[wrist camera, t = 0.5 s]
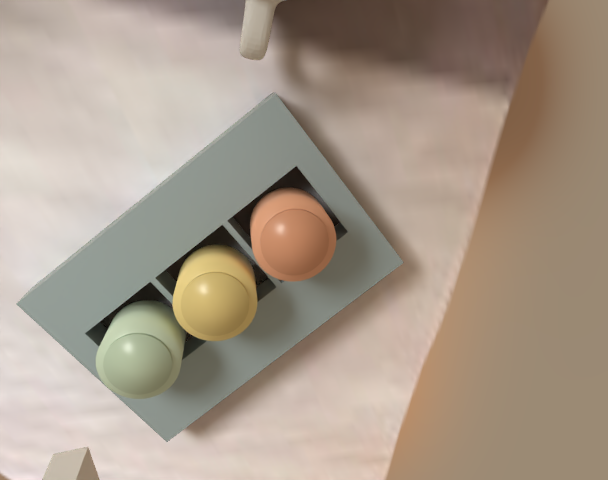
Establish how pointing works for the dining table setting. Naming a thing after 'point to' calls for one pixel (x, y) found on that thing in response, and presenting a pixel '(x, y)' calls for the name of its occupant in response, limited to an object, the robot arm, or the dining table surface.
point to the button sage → (141, 350)
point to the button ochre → (215, 293)
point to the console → (192, 230)
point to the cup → (257, 27)
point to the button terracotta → (291, 234)
